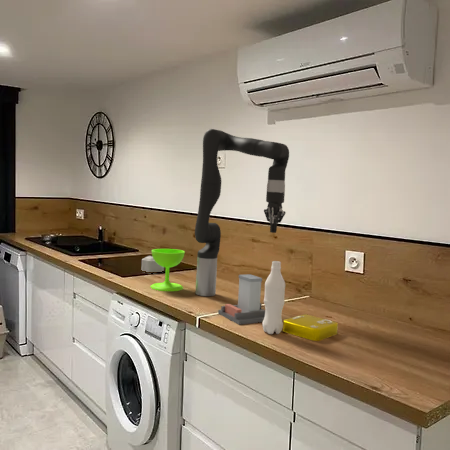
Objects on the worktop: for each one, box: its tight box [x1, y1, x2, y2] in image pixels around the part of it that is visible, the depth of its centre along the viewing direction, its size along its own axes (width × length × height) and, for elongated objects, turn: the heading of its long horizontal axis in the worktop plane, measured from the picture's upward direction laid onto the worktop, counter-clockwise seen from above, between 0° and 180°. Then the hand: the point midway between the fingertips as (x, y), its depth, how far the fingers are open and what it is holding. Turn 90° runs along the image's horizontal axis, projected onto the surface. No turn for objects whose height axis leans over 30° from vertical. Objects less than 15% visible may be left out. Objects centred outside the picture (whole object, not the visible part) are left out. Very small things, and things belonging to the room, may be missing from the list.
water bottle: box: [261, 260, 286, 335], centre depth 166 cm, size 7×7×25 cm
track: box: [217, 302, 265, 326], centre depth 185 cm, size 16×18×4 cm
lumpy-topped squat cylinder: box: [140, 255, 165, 273], centre depth 273 cm, size 10×13×9 cm
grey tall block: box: [237, 273, 263, 312], centre depth 185 cm, size 8×5×14 cm, turn 29°
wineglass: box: [149, 248, 186, 292], centre depth 230 cm, size 16×16×18 cm
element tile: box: [282, 313, 339, 342], centre depth 169 cm, size 15×15×5 cm
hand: (273, 232), depth 200 cm, fingers closed
